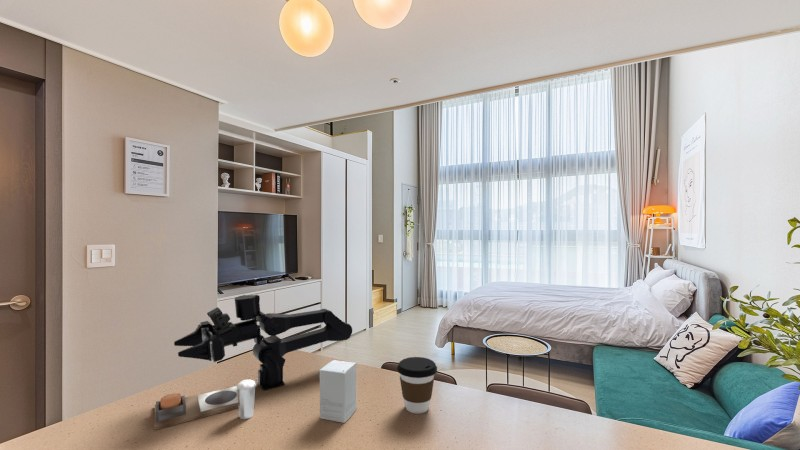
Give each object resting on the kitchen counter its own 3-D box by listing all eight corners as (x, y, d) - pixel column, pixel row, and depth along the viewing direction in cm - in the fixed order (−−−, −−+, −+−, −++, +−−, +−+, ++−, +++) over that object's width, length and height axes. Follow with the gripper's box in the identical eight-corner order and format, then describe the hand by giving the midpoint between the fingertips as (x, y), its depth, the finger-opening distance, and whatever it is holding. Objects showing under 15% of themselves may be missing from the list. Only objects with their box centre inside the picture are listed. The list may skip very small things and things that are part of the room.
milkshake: (251, 422, 89) (251, 382, 89) (232, 419, 90) (232, 380, 90) (262, 413, 94) (262, 375, 94) (244, 410, 95) (244, 373, 95)
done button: (180, 402, 95) (180, 391, 95) (181, 409, 92) (181, 398, 92) (160, 407, 93) (160, 396, 93) (160, 415, 89) (160, 403, 89)
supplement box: (357, 409, 95) (357, 362, 96) (344, 424, 88) (344, 373, 89) (333, 405, 98) (333, 359, 98) (318, 418, 91) (318, 369, 91)
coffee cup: (445, 407, 97) (445, 363, 97) (419, 423, 89) (419, 375, 89) (414, 394, 104) (414, 353, 104) (388, 408, 96) (388, 363, 96)
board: (242, 386, 109) (242, 376, 109) (251, 404, 98) (251, 393, 98) (154, 407, 96) (154, 395, 96) (154, 430, 86) (154, 416, 86)
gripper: (228, 299, 112) (169, 311, 102) (244, 313, 97) (177, 329, 87) (231, 334, 113) (173, 349, 103) (247, 353, 98) (181, 372, 88)
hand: (176, 348), depth 95 cm, fingers open, 9 cm apart
